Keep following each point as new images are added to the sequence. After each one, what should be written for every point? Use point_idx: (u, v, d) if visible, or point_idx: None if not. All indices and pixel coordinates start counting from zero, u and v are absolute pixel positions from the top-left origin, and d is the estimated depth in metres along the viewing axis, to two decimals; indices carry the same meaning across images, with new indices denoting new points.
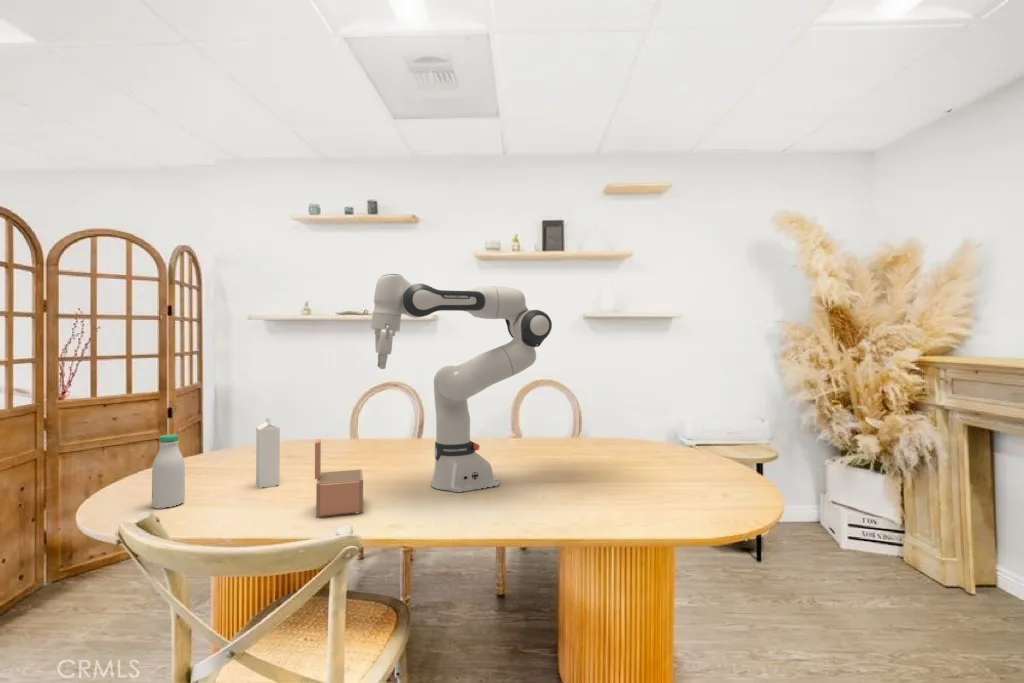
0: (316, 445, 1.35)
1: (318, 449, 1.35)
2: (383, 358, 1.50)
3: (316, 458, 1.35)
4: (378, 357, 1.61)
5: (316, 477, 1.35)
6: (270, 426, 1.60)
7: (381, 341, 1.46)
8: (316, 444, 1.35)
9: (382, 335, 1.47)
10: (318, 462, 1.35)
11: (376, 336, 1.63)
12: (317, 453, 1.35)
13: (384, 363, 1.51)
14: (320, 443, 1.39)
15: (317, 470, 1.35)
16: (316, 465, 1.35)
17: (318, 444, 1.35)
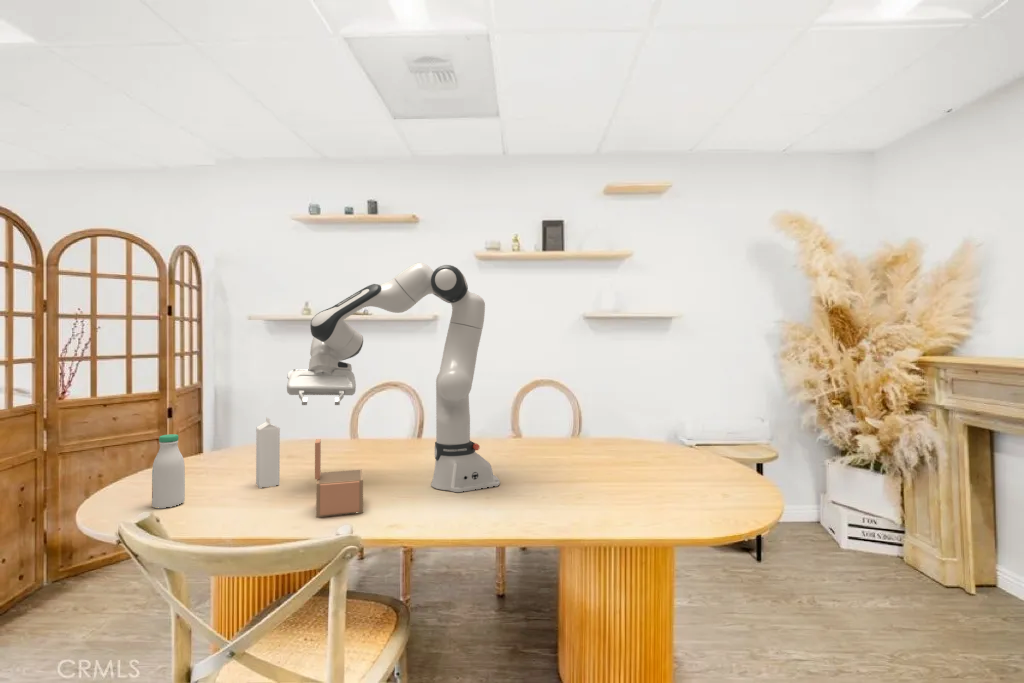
0: (316, 445, 1.35)
1: (318, 449, 1.35)
2: (299, 395, 1.51)
3: (316, 458, 1.35)
4: None
5: (316, 477, 1.35)
6: (270, 426, 1.60)
7: None
8: (316, 444, 1.35)
9: None
10: (318, 462, 1.35)
11: None
12: (317, 453, 1.35)
13: (301, 398, 1.50)
14: (320, 443, 1.39)
15: (317, 470, 1.35)
16: (316, 465, 1.35)
17: (318, 444, 1.35)
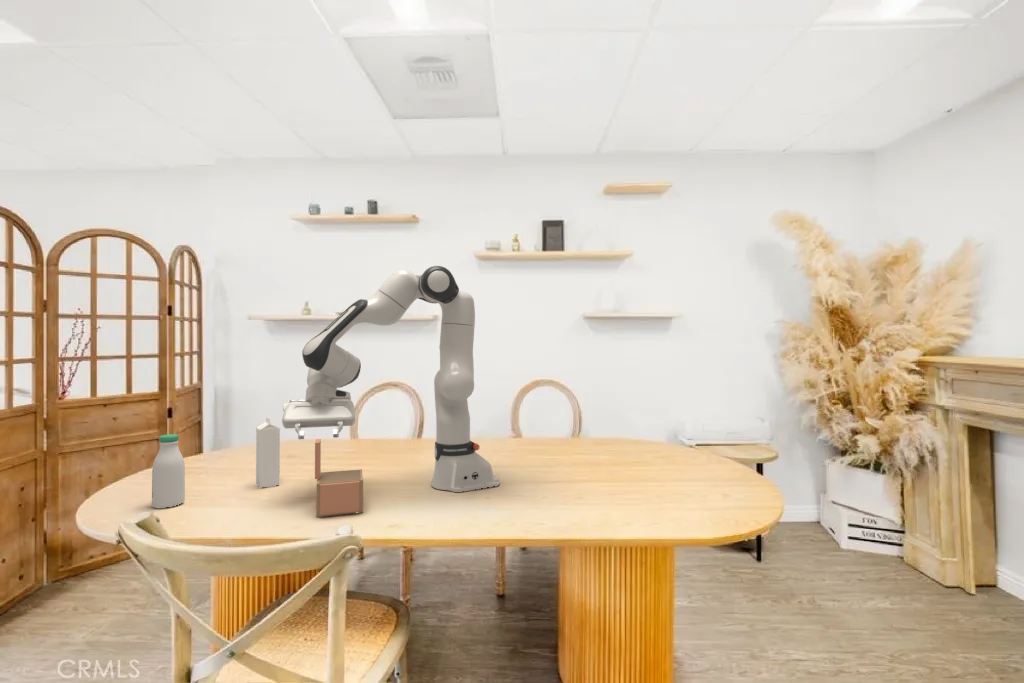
0: (316, 445, 1.35)
1: (318, 449, 1.35)
2: (295, 429, 1.43)
3: (316, 458, 1.35)
4: None
5: (316, 477, 1.35)
6: (270, 426, 1.60)
7: None
8: (316, 444, 1.35)
9: None
10: (318, 462, 1.35)
11: None
12: (317, 453, 1.35)
13: (298, 432, 1.42)
14: (320, 443, 1.39)
15: (317, 470, 1.35)
16: (316, 465, 1.35)
17: (318, 444, 1.35)
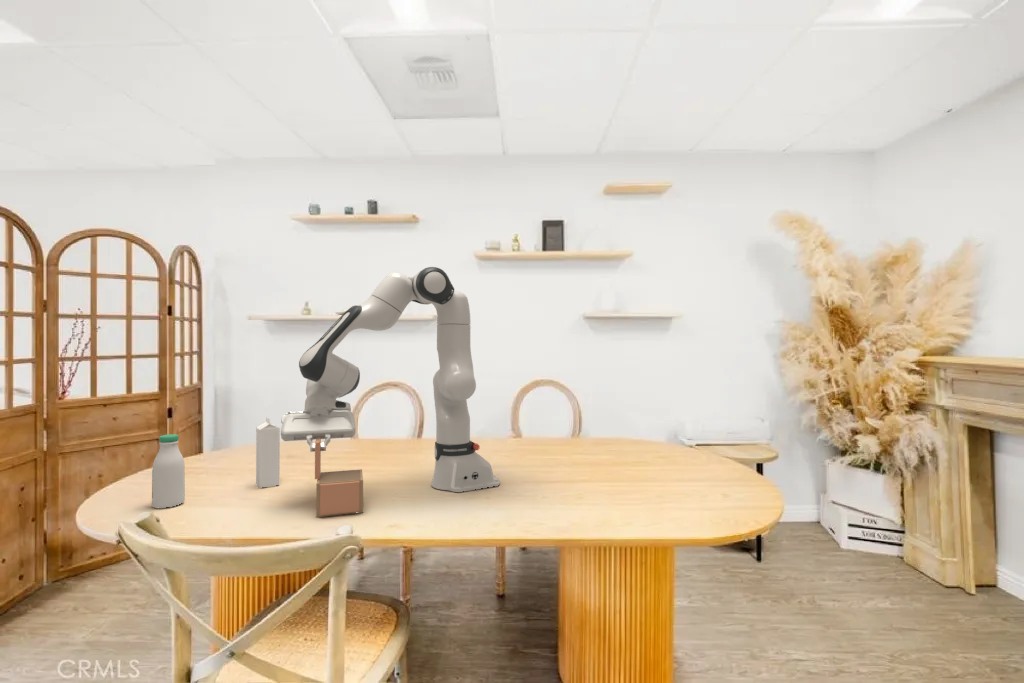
0: (316, 445, 1.35)
1: (318, 449, 1.35)
2: (307, 441, 1.40)
3: (316, 458, 1.35)
4: None
5: (316, 477, 1.35)
6: (270, 426, 1.60)
7: None
8: (316, 444, 1.35)
9: None
10: (318, 462, 1.35)
11: None
12: (317, 453, 1.35)
13: (310, 444, 1.39)
14: (320, 443, 1.39)
15: (317, 470, 1.35)
16: (316, 465, 1.35)
17: (318, 444, 1.35)
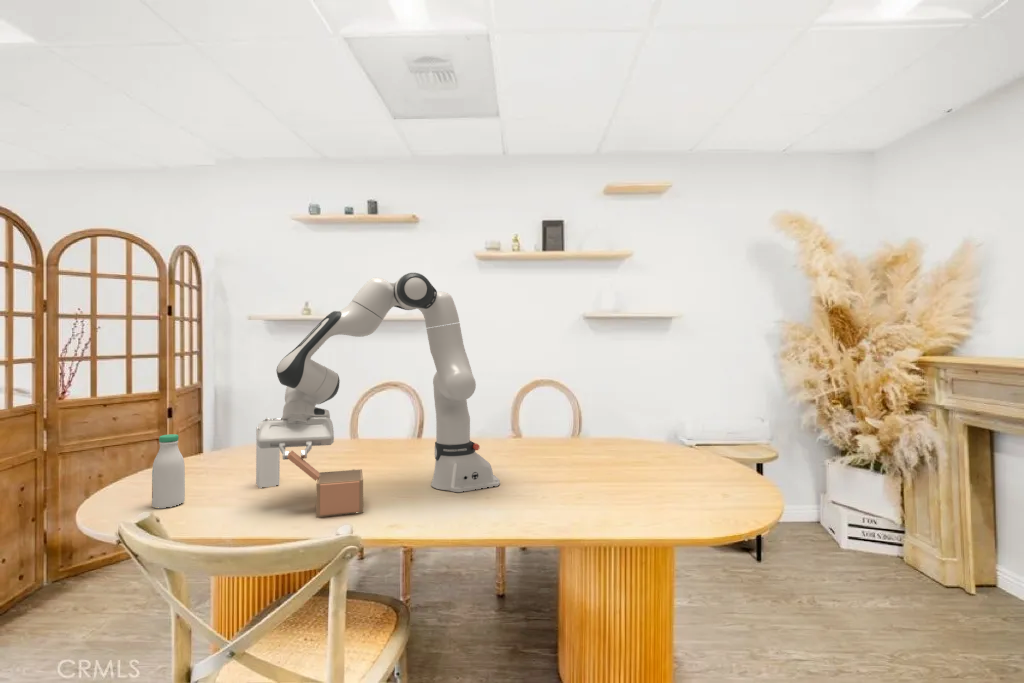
0: (289, 458, 1.33)
1: (294, 459, 1.34)
2: (280, 448, 1.38)
3: (300, 466, 1.34)
4: None
5: (315, 478, 1.35)
6: None
7: None
8: (289, 457, 1.33)
9: None
10: (305, 467, 1.34)
11: None
12: (297, 462, 1.34)
13: (282, 452, 1.37)
14: (294, 453, 1.37)
15: (310, 473, 1.35)
16: (305, 471, 1.34)
17: (290, 456, 1.33)
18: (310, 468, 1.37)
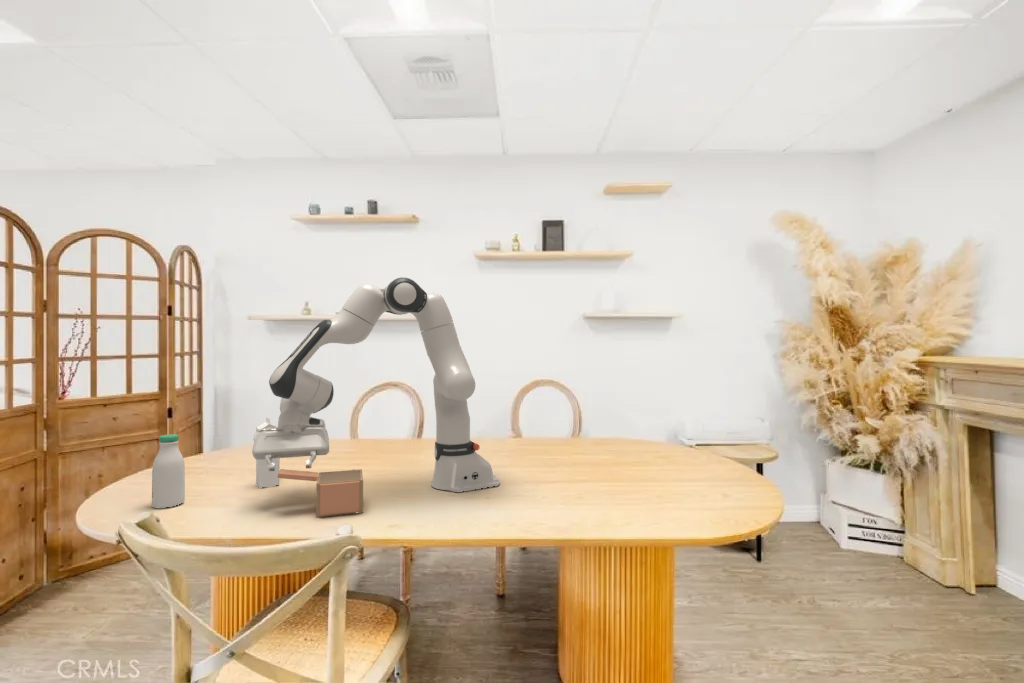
0: (280, 476, 1.32)
1: (285, 475, 1.33)
2: (266, 460, 1.38)
3: (294, 478, 1.34)
4: None
5: (315, 479, 1.35)
6: (270, 426, 1.60)
7: None
8: (279, 476, 1.32)
9: None
10: (299, 476, 1.34)
11: None
12: (289, 476, 1.33)
13: (268, 464, 1.37)
14: (284, 470, 1.36)
15: (307, 477, 1.35)
16: (302, 478, 1.34)
17: (280, 474, 1.32)
18: (306, 474, 1.36)
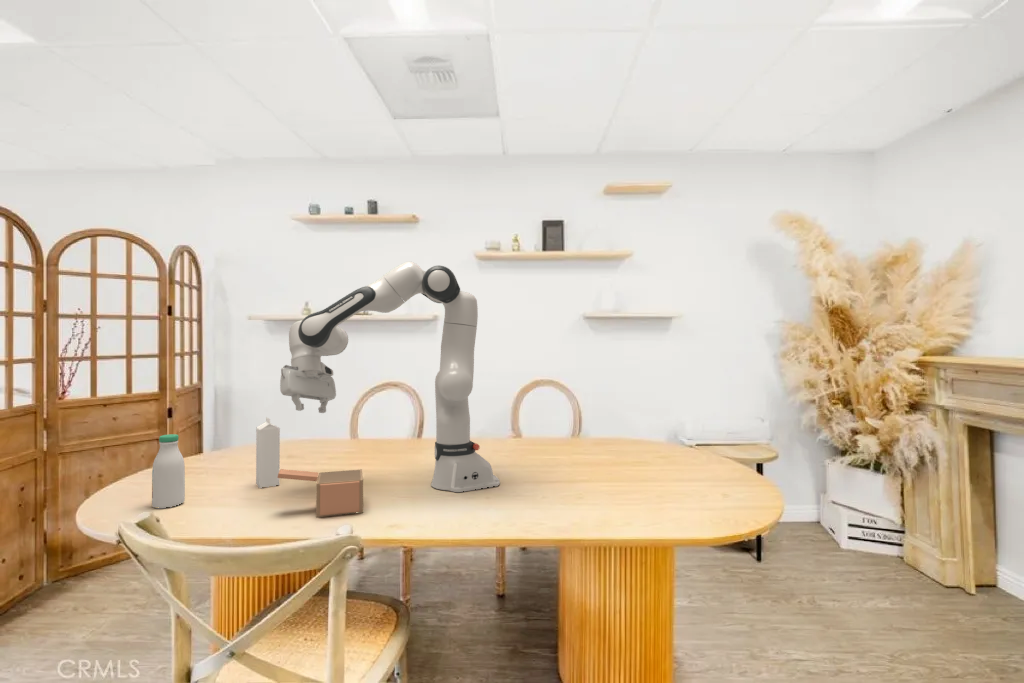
0: (280, 476, 1.32)
1: (285, 475, 1.33)
2: (294, 399, 1.48)
3: (294, 478, 1.34)
4: (321, 404, 1.59)
5: (315, 479, 1.35)
6: (270, 426, 1.60)
7: (280, 383, 1.47)
8: (279, 476, 1.32)
9: (281, 377, 1.47)
10: (299, 476, 1.34)
11: None
12: (289, 476, 1.33)
13: (298, 403, 1.48)
14: (284, 470, 1.36)
15: (307, 477, 1.35)
16: (302, 478, 1.34)
17: (280, 474, 1.32)
18: (306, 474, 1.36)
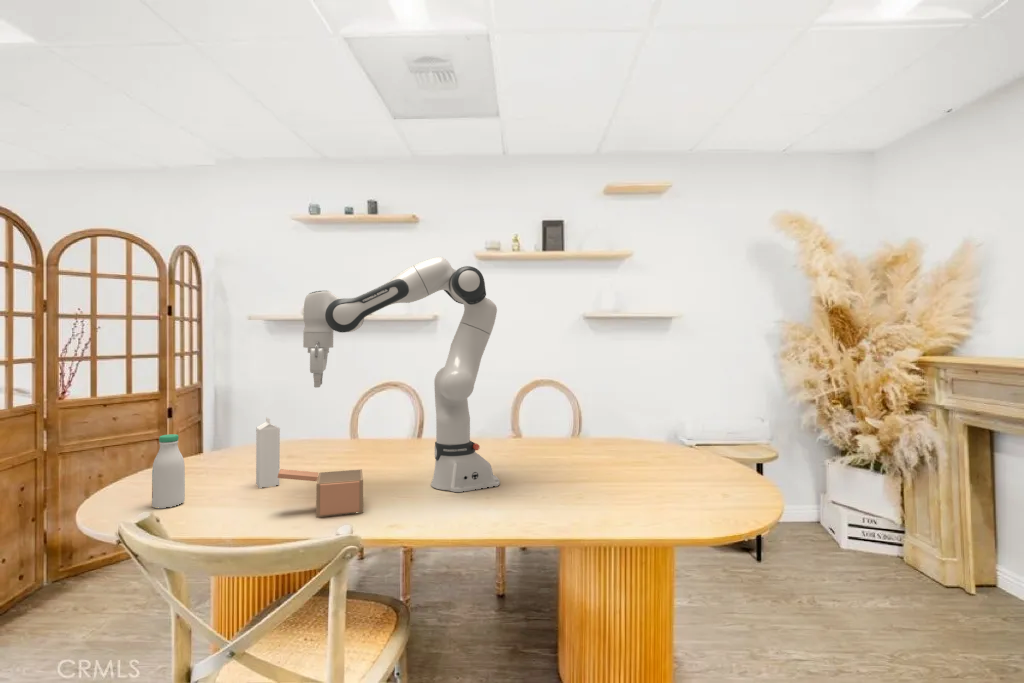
0: (280, 476, 1.32)
1: (285, 475, 1.33)
2: (316, 377, 1.49)
3: (294, 478, 1.34)
4: None
5: (315, 479, 1.35)
6: (270, 426, 1.60)
7: (311, 360, 1.46)
8: (279, 476, 1.32)
9: (312, 354, 1.46)
10: (299, 476, 1.34)
11: None
12: (289, 476, 1.33)
13: (318, 381, 1.50)
14: (284, 470, 1.36)
15: (307, 477, 1.35)
16: (302, 478, 1.34)
17: (280, 474, 1.32)
18: (306, 474, 1.36)
